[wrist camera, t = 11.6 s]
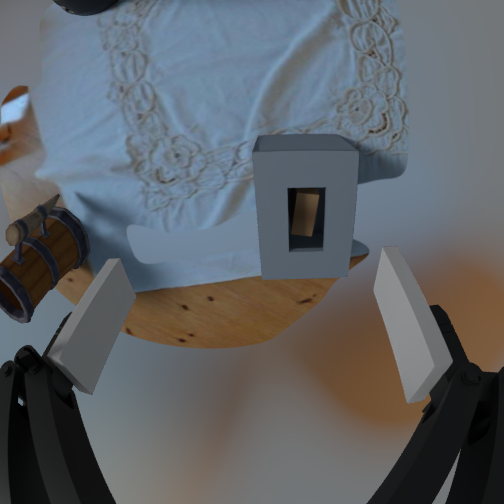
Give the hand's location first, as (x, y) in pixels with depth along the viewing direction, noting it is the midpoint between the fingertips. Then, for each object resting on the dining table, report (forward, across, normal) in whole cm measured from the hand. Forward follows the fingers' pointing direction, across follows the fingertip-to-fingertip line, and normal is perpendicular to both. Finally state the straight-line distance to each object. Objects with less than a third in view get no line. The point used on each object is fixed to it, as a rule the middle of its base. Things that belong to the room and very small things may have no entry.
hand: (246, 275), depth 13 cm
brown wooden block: (+28, +5, -7) cm, 29 cm away
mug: (+29, -41, -10) cm, 51 cm away
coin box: (+28, +5, -7) cm, 30 cm away
